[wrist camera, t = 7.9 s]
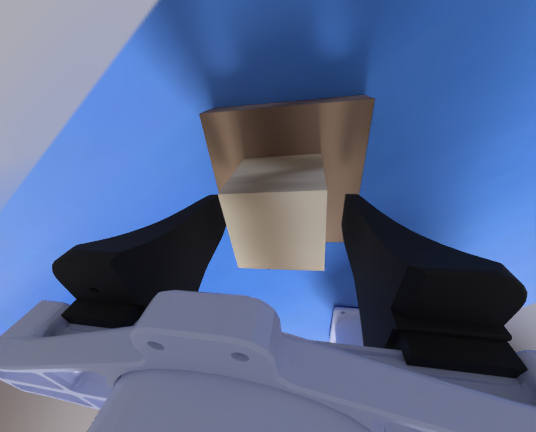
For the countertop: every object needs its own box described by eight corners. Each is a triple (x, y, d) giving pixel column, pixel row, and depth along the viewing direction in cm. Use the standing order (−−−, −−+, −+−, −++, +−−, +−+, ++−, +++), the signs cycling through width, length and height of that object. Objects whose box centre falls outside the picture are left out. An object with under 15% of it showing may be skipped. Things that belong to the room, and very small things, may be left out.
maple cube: (321, 153, 13) (327, 190, 9) (319, 219, 16) (324, 270, 12) (243, 158, 14) (217, 194, 10) (255, 220, 17) (238, 267, 13)
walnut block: (362, 93, 14) (374, 98, 11) (345, 220, 19) (351, 242, 17) (216, 107, 15) (199, 113, 13) (239, 219, 21) (230, 239, 18)
